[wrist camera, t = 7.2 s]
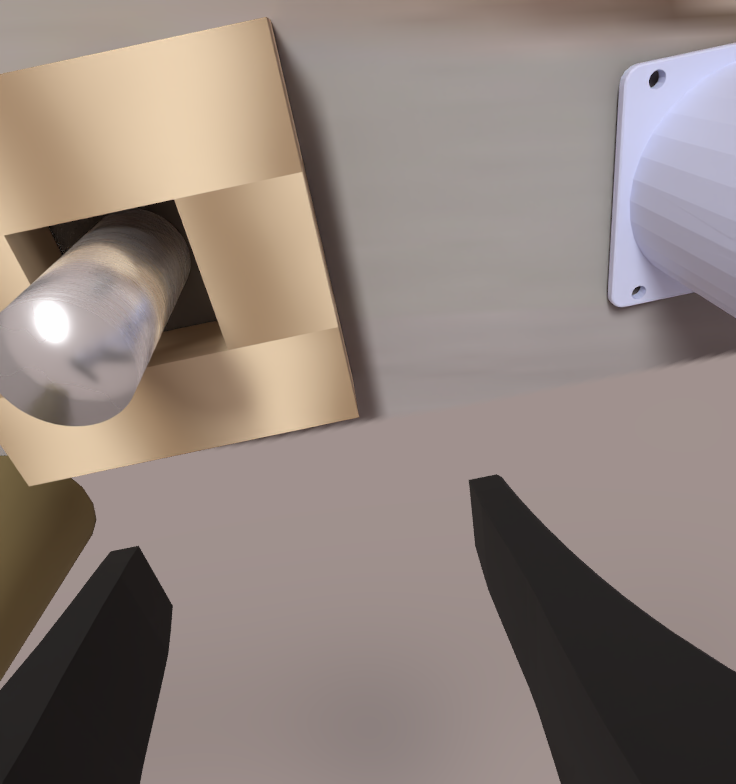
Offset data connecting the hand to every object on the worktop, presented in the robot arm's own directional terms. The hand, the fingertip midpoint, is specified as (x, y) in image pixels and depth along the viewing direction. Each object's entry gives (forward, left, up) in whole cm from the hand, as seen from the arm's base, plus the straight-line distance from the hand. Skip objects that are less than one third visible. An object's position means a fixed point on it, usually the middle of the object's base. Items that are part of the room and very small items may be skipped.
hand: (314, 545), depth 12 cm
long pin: (+5, -4, -10) cm, 12 cm away
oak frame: (+5, -4, -10) cm, 12 cm away
